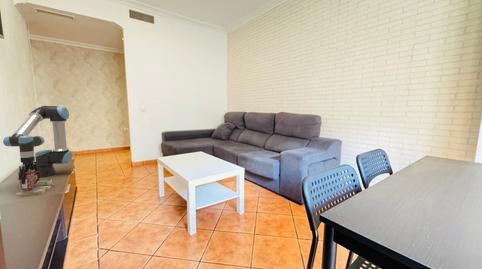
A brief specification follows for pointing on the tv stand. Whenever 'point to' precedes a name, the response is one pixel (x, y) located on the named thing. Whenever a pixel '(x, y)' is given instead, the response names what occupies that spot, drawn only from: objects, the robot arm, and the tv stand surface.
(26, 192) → the seat pad
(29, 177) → the mug
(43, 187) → the board
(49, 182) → the leg
